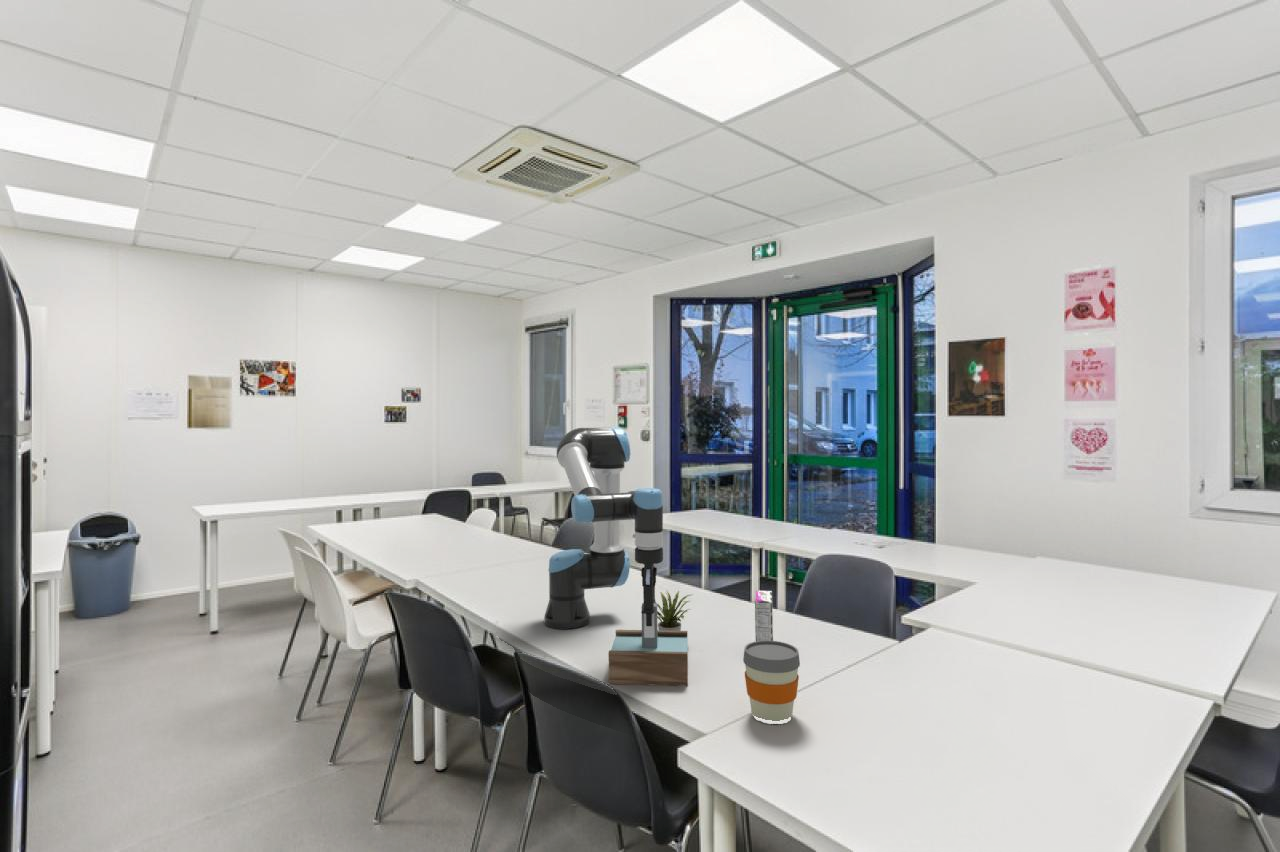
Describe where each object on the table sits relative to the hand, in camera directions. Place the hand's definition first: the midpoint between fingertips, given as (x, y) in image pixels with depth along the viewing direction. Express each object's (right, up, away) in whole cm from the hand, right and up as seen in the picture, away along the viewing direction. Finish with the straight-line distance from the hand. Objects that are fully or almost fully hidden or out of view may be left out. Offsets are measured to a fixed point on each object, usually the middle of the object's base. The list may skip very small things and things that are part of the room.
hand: (649, 634), depth 169 cm
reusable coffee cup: (+27, -10, -25) cm, 38 cm away
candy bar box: (+33, -10, +14) cm, 37 cm away
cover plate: (0, -4, 0) cm, 4 cm away
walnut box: (0, -10, 0) cm, 10 cm away
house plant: (+8, -10, +20) cm, 23 cm away
